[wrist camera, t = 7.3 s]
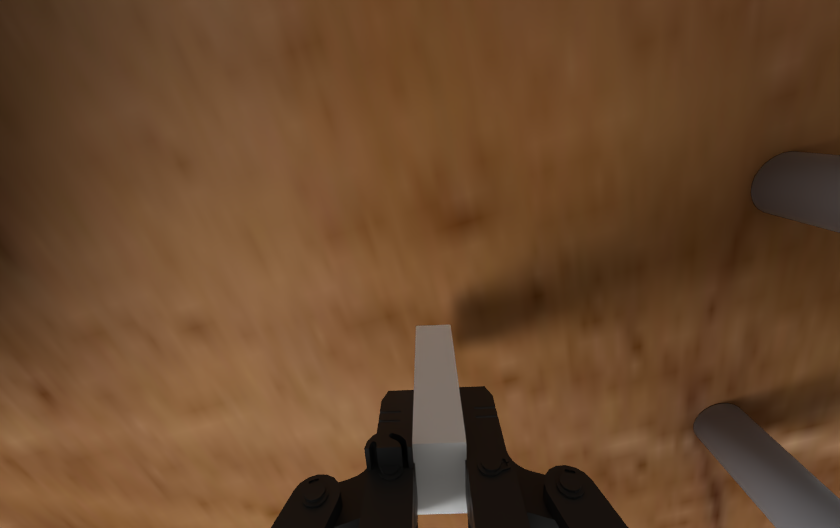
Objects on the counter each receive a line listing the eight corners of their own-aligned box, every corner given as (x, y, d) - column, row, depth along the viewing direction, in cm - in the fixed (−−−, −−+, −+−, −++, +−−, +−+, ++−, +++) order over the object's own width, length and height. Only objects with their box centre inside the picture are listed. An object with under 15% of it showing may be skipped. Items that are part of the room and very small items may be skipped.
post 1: (689, 442, 21) (864, 655, 13) (698, 404, 20) (893, 605, 12) (737, 441, 21) (945, 653, 13) (749, 402, 20) (981, 603, 12)
